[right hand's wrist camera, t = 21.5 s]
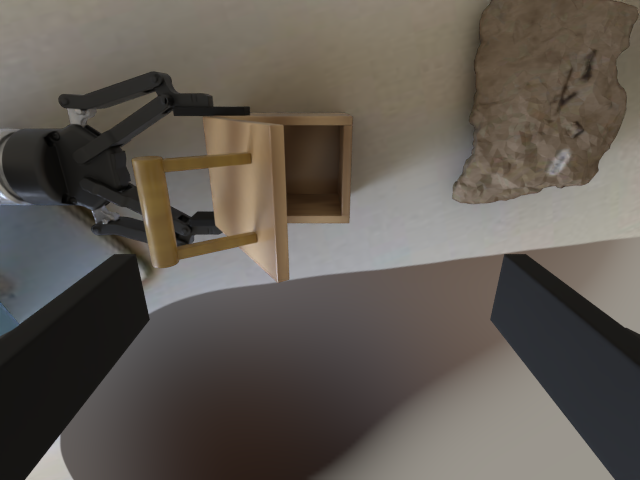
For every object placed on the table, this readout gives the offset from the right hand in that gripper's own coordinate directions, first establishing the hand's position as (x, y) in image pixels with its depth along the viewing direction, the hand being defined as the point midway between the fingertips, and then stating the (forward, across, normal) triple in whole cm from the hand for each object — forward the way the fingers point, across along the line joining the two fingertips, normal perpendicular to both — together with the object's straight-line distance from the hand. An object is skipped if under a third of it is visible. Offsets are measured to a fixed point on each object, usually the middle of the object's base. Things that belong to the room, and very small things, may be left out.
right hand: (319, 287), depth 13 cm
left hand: (+24, -7, 0) cm, 25 cm away
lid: (+16, -6, 0) cm, 17 cm away
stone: (+31, +23, +6) cm, 39 cm away
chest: (+31, -3, 0) cm, 31 cm away
